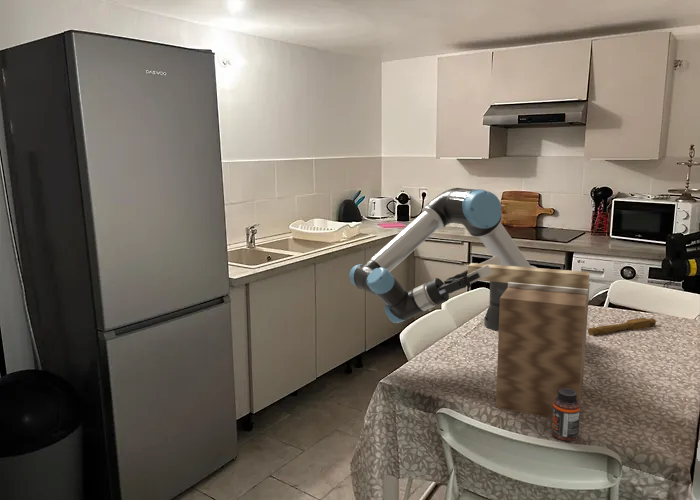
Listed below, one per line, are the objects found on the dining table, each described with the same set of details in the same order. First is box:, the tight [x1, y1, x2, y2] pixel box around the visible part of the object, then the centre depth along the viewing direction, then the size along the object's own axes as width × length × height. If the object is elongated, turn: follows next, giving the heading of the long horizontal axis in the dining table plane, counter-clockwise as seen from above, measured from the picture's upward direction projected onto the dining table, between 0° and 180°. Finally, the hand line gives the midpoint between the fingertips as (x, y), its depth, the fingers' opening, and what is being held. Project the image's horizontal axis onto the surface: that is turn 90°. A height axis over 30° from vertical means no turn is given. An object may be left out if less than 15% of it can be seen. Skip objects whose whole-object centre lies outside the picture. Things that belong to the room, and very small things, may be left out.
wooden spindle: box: [587, 317, 657, 336], centre depth 204 cm, size 3×3×30 cm
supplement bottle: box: [551, 388, 581, 442], centre depth 131 cm, size 6×6×11 cm
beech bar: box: [467, 262, 590, 289], centre depth 154 cm, size 32×4×4 cm, turn 65°
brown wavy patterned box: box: [495, 282, 591, 419], centre depth 150 cm, size 20×24×31 cm
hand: (494, 264), depth 157 cm, fingers open, 13 cm apart
